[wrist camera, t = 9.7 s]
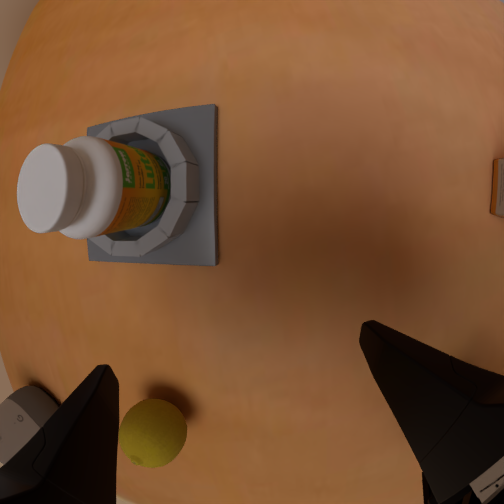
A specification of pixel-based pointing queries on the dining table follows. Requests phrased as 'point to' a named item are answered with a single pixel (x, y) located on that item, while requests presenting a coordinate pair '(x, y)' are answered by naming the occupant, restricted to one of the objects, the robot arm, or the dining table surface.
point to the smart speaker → (23, 418)
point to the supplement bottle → (91, 188)
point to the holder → (182, 189)
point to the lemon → (152, 433)
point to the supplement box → (498, 189)
